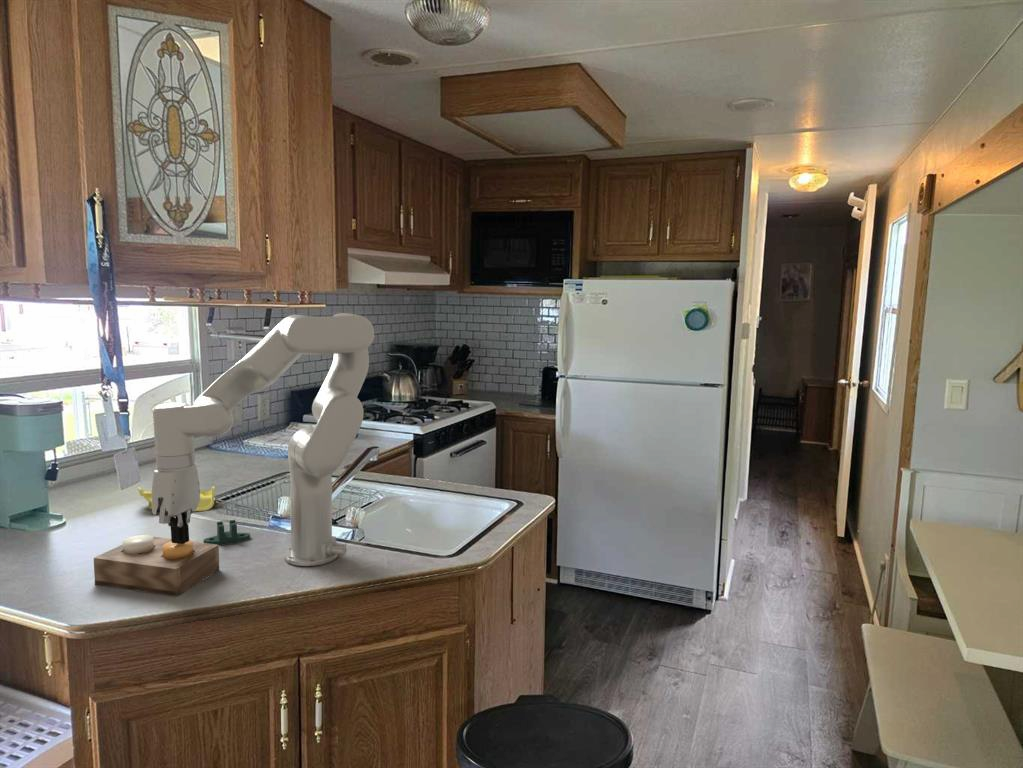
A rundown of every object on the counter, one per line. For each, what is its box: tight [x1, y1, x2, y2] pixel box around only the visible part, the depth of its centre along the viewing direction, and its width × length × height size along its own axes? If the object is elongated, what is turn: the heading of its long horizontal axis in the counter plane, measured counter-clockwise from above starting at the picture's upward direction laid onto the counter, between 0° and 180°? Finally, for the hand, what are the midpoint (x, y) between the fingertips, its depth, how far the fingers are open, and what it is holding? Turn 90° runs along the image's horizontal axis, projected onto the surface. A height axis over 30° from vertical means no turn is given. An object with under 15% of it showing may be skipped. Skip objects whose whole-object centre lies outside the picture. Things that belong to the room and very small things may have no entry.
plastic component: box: [137, 485, 215, 512], centre depth 194 cm, size 20×7×10 cm
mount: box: [203, 519, 251, 546], centre depth 170 cm, size 11×4×5 cm, turn 119°
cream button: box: [122, 534, 154, 554], centre depth 149 cm, size 6×6×6 cm
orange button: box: [162, 540, 194, 559], centre depth 147 cm, size 6×6×6 cm
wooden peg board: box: [93, 536, 220, 597], centre depth 148 cm, size 20×14×6 cm
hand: (180, 542), depth 146 cm, fingers closed
